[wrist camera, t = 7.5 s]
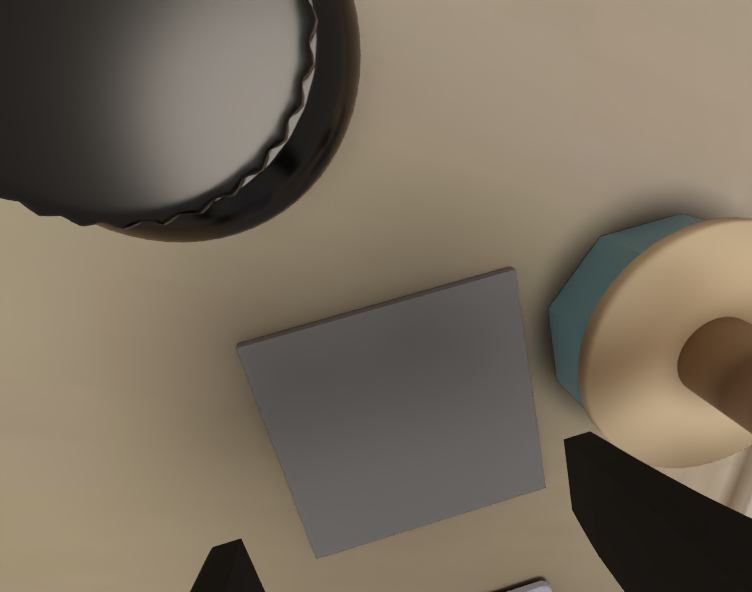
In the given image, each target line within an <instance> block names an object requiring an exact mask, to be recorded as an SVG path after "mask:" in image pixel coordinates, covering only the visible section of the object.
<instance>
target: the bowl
mask: <svg viewBox="0 0 752 592" xmlns="http://www.w3.org/2000/svg"><path fill="white" fill-rule="evenodd" d="M703 221H706V220H703V219H699V218H696V217H692V216H688V215H685V214H678V215H675V216H671V217H668V218H664V219H661V220H657V221H654V222H650V223H647V224H643V225H639V226H636V227H632V228H629V229H625V230H622V231H618V232H615V233H611V234H607V235H604V236H600V237H599V239H598V240H597V242H596V243H595V244H594V246H593V247H592V249H591V250H590V251H589V253H588V254H587V256H586V257H585V258H584V260H583V261H582V263H581V264H580V265H579V267H578V268H577V270H576V271H575V272H574V274H573V275H572V277H571V278H570V279H569V281H568V282H567V283H566V285H565V286H564V288H563V289H562V290H561V292H560V293H559V295H558V296H557V297H556V299H555V300H554V302H553V303H552V304H551V306H550V307H549V309H548V311H549V319H550V327H551V336H552V344H553V353H554V361H555V369H556V378H557V381H558V382H559V383H560V384H561V385H562V386H563V387H564V388H565V389H566V390H567V391H568V392H569V393H570V394H571V395H572V396H573V397H574V398H575V400H576V401H577V402H578V403H579V404H580V405H581V406H582V407H583V408H584V406H583V403H582V399H581V396H580V392H579V385H578V359H579V352H580V347H581V343H582V339H583V336H584V332H585V330H586V327H587V325H588V322H589V320H590V317H591V315H592V313H593V312H594V310H595V308H596V306H597V304H598V302H599V301H600V299H601V297H602V296H603V295H604V293H605V292H606V290H607V289H608V287H609V286H610V285H611V283H612V282H613V281H614V280H615V279H616V278H617V276H618V275H619V274H620V273H621V272H622V271H623V269H624V268H626V267H627V266H628V265H629V264H630V263H631V262H632V261H633V260H634V259H635V258H636V257H637V256H639V255H640V254H641V253H642V252H644V251H645V250H646V249H648V248H649V247H650V246H652V245H653V244H655V243H656V242H658V241H660V240H661V239H663V238H665V237H666V236H668V235H670V234H672V233H674V232H676V231H678V230H681V229H683V228H685V227H687V226H690V225H694V224H697V223H700V222H703ZM584 409H585V408H584Z"/></svg>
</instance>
